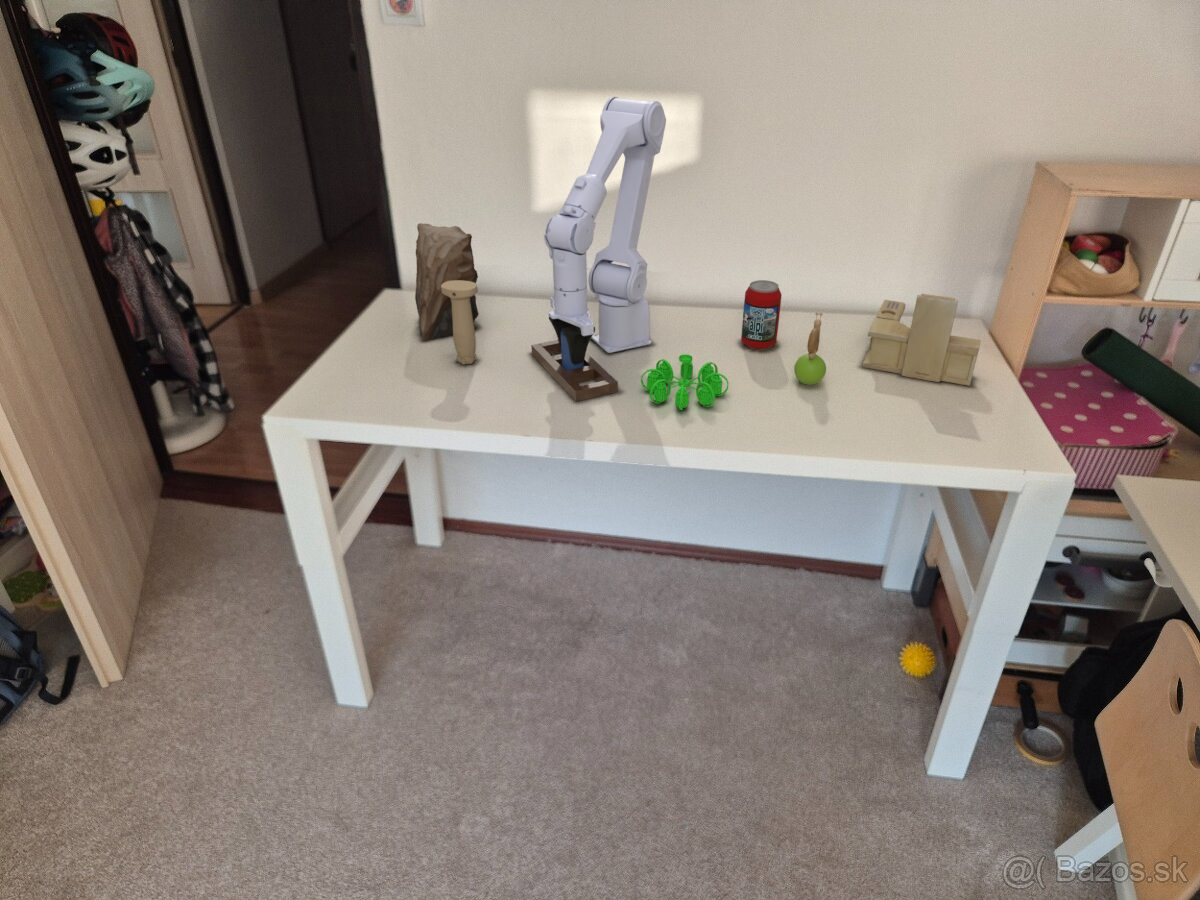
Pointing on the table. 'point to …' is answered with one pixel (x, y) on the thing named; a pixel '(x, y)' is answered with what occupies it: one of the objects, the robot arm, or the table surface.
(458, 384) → the table surface
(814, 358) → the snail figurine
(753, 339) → the beverage can
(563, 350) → the peg
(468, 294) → the handle
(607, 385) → the peg board
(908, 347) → the toy kitchen set
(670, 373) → the chandelier
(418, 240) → the brown rock
